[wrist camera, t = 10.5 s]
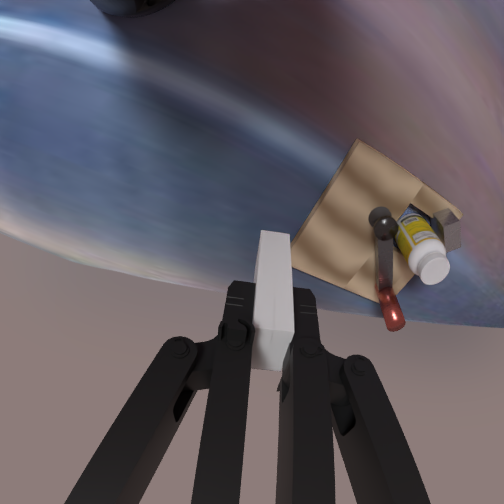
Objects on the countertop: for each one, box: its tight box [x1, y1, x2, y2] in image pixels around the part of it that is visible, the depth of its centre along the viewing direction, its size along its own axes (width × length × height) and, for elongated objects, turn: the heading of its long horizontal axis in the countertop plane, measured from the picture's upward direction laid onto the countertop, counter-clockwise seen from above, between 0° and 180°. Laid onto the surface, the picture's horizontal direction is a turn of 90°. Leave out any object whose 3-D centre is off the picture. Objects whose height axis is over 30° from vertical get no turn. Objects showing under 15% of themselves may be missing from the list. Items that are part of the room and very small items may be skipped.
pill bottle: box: [394, 213, 450, 285], centre depth 40 cm, size 6×6×11 cm
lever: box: [373, 216, 405, 332], centre depth 41 cm, size 16×4×9 cm, turn 16°
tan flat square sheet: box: [290, 139, 463, 303], centre depth 45 cm, size 22×22×2 cm
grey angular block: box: [430, 208, 461, 253], centre depth 41 cm, size 5×3×6 cm, turn 25°
